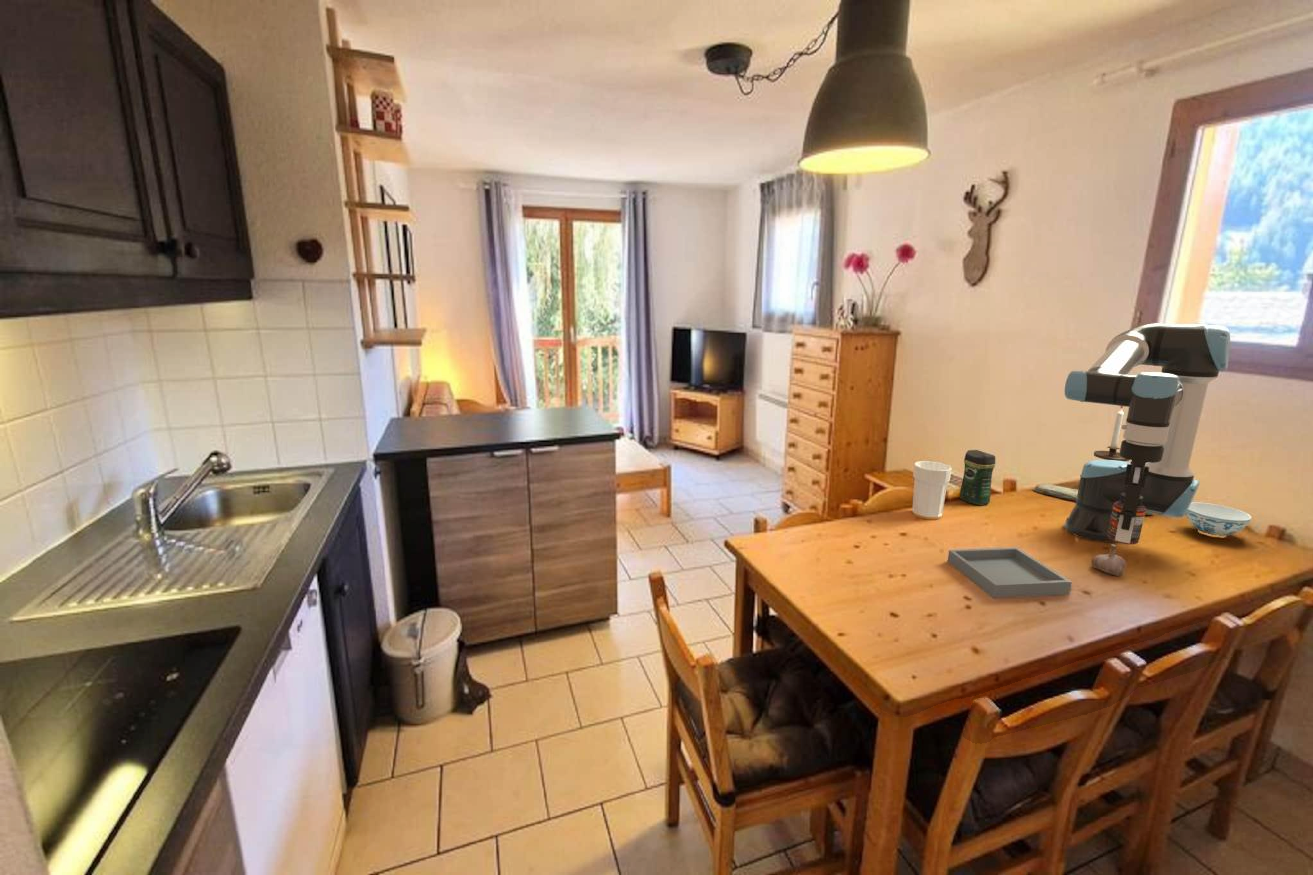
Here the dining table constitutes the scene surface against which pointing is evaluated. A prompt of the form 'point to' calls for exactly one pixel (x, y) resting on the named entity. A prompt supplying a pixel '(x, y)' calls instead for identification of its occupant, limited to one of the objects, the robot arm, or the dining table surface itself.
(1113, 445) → the candlestick
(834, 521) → the dining table surface
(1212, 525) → the chinaware
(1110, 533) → the supplement bottle
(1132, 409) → the robot arm
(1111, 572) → the garlic bulb
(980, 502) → the coffee jar
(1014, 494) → the dining table surface
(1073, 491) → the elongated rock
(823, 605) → the dining table surface
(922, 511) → the cup
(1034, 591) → the tray
